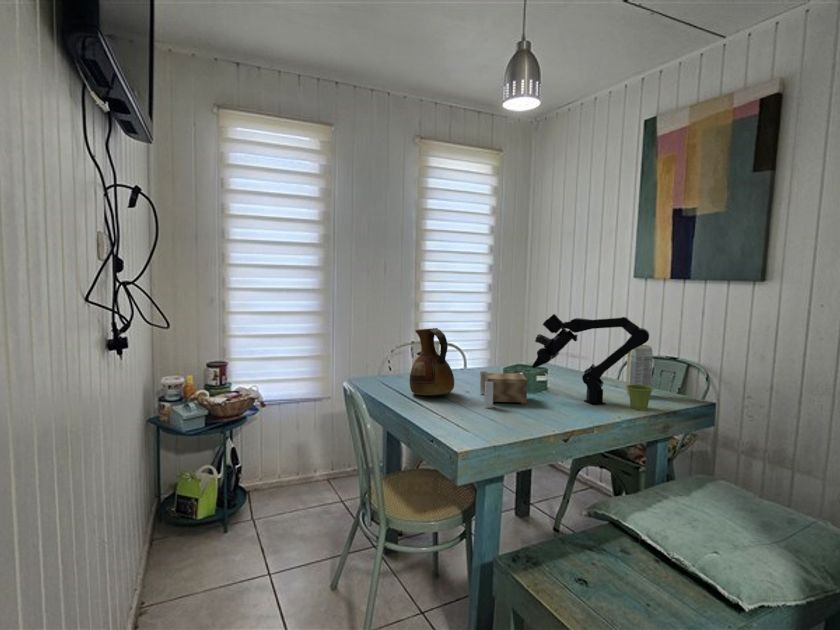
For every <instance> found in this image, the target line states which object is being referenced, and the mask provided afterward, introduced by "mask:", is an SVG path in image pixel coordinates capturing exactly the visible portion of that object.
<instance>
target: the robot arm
mask: <svg viewBox="0 0 840 630" xmlns="http://www.w3.org/2000/svg"><path fill="white" fill-rule="evenodd" d="M542 326H544V327H545V328H546V329H547V330H548V331H549V332H550V334H555V336H554V337H552V338H549V337H547V336H545V335H543V334H539V333H538V334H537V335H536V337H535V340H534V341H535V343H539V344H541V345H543V347H541V348H539V349H538V350H537V351H536V354H537V356H536V359H535V361H534V362H533V364H532V365H531V367H532V369H535V368H538V367H541V366H542V365H546V364H548V363H549V362H550V361H551V360H553V359H555V358H556V357H558V356H559V354H560V352H561V351H562V350H563V349H564V348H565V347H566V346H567V344H568V343H570V342H571V341H574V342H577V341H578V333H580V332H584V331H588V330H593V329H594V330H595V329H610V328H622V329H623V330H624V331H625V332H626V333H628V334H629V335H630V336H629V338H628V339H627V340H626V341H625V343H623V344H622V345H621V346H619V347H618V348H617V349H616V350H615V351H613V352H612V353H611V354H610V355H609V356H607V357H606V358H605V359H604V360H602V361H601V362H600V363H599V364H597V365H595V364H594V363H592V364H591V366H590V367H588V368H586V369H585V370H584V371H583V373H584V374H582V376H581V377H582V378H581V379H582V382H583V383H584V384H585V386H586V399H583V402H585V403H587V404H590V405H593V406H596V405H606V404H607V403H606V402H605V401H603V400H604V399H603V398H604V397H603V396H604V389H603V388H602V387H603V386H604V381H603V380H602V378H601V377H602V376H603V375H604V374H605V372H607V370H609V369H611V367H613V366H614V365H615V364H616V363H618V362H619V361H620V360H621V359H622V358H624V357H625V356H627V353H629V352H630V351H631V350H633V349H635V348H637V347H639V346H641V345H645V344H646V343H647V342H648V341H649V339H650V333H649V331H648V329H646V328H641V327H639V326H638V325H637V324H635V323H634V322H633V321H631V320H630V319H629V318H628V317H626V316H622V317H614V318H613V317H611V318H599V319H598V318H597V319H590V318H589V319H587V318H578V317H576V318H573V319H571V320H570V321H564V322H563V321H562V320H561V319H560V318H559V317H558V316H557V314H556V313H553V314H552V315H551V316H550V317H548V318H547V319H546V320H544V322H543V324H542ZM574 333H577V334H574Z"/></svg>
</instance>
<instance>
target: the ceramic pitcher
mask: <svg viewBox="0 0 840 630" xmlns="http://www.w3.org/2000/svg"><path fill="white" fill-rule="evenodd" d="M414 333H416V334H417V335H418V338H419V342H420V347H421V350H420V355H419V356H418V357H417V358H416V359H415V360H414V362H413V364H412V366H411V369H410V372H409V373H410V374H409V388H410V390H411V392H412V393H413V394H414V395H421V396H440V395H441V396H442V395H445V394H446V395H449V394H450V393H452V392H453V390H454V388H455V377H454V372H453V369H452V368H451V366H450V364H449V362H448V361H447V360H446V356H447V352H448V341H447V337H446V335H445V333H444V332H443V331H442V330H441V329H439V328H438V327H432V328H422V329H415V331H414ZM435 337H436V338H437V340H438V343H439V345H440V346H439V347H440V349H439V350H440V351H439V354H438V352H437V350H436V347H435Z"/></svg>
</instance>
